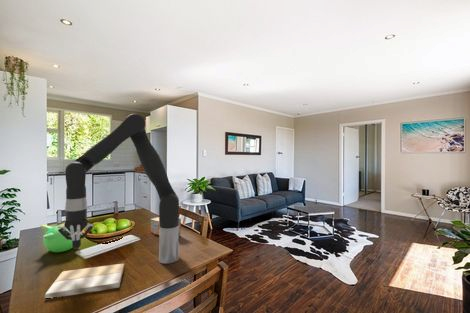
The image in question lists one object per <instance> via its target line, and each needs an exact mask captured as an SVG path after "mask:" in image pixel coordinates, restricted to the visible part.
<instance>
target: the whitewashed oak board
mask: <svg viewBox="0 0 470 313" xmlns="http://www.w3.org/2000/svg"><path fill="white" fill-rule="evenodd" d="M122 276H123V274H122V272H120V273H113V274H106V275H99V276H92V277H85V278H78V279H71V280H64V281H57V282H55V281H54V282H52V285H51V286H50V287H49V288H48V289H47V291H46V293H44V299H45V298H51V299H54V298H53V297H57V298H62V296H63V297H68V296H75V295H81V294H86V293H93V292H99V291H100V292H101V291H106V290H112V289H117V288H118V289H119V288H120V285H121V281H122V278H123V277H122Z"/></svg>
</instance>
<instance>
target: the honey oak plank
mask: <svg viewBox="0 0 470 313" xmlns="http://www.w3.org/2000/svg"><path fill="white" fill-rule="evenodd" d="M124 270H125V263H118V264H117V263H116V264H109V265H101V266H93V267H86V268H79V269H71V270H70V269H69V270H64V271H61V273H60V274H59V276H57V278H56V279H55V281H54V282H57V281H64V280H71V279H78V278H85V277H92V276H99V275H106V274H113V273H120V272H122V275H123V274H124Z"/></svg>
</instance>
